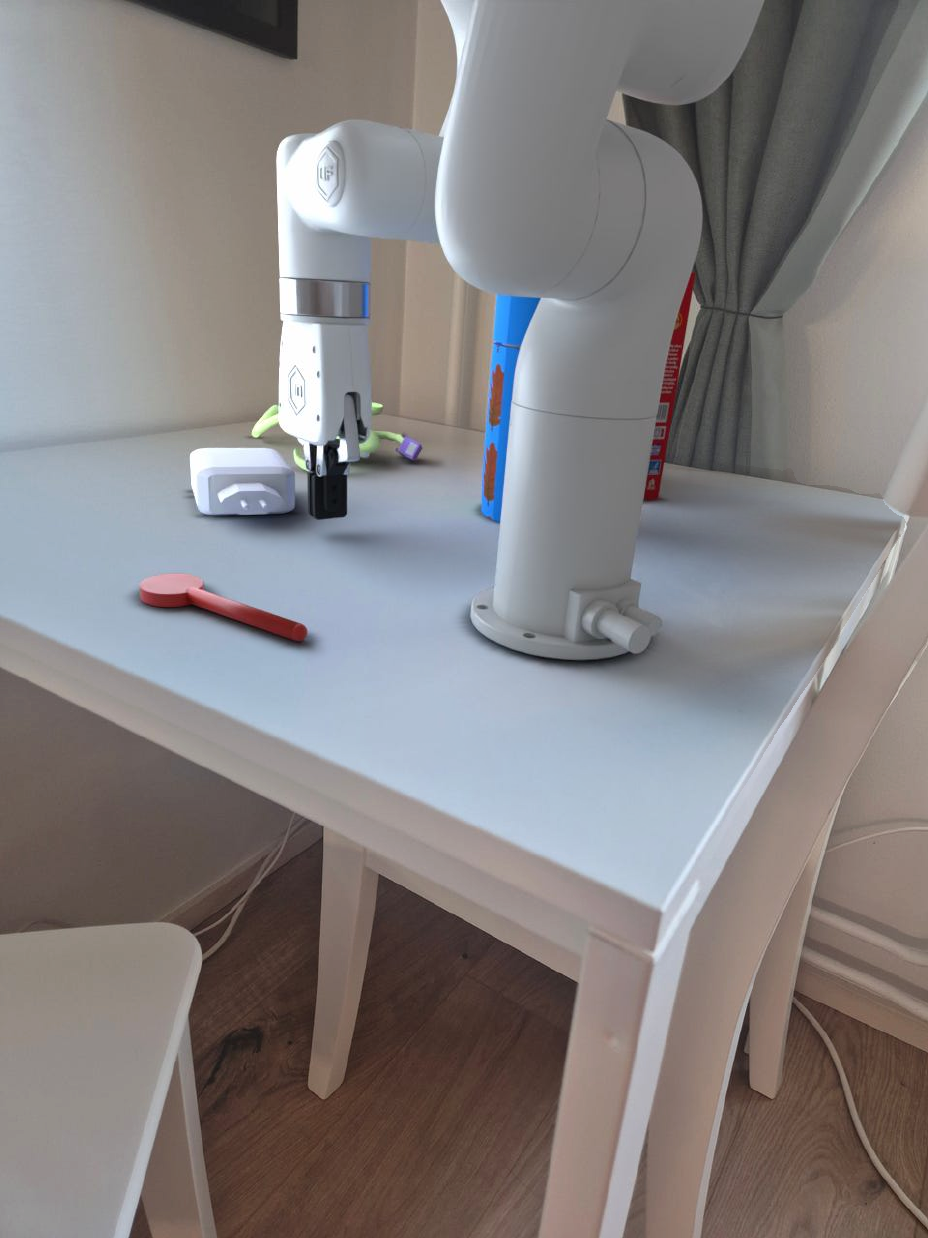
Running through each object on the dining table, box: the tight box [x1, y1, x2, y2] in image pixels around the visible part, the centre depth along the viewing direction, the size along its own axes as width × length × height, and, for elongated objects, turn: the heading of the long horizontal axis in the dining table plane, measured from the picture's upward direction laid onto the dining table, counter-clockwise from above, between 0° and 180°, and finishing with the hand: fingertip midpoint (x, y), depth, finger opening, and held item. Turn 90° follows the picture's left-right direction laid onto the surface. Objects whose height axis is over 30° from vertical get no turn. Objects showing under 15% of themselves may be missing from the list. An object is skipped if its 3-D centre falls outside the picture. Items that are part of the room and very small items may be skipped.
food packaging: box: [643, 271, 697, 501], centre depth 99 cm, size 15×5×25 cm, turn 26°
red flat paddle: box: [139, 572, 308, 642], centre depth 58 cm, size 15×4×1 cm, turn 58°
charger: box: [189, 447, 296, 517], centre depth 81 cm, size 5×9×15 cm
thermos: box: [480, 294, 541, 523], centre depth 84 cm, size 11×11×25 cm
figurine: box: [251, 401, 423, 472], centre depth 110 cm, size 18×27×6 cm
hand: (327, 515), depth 77 cm, fingers closed
